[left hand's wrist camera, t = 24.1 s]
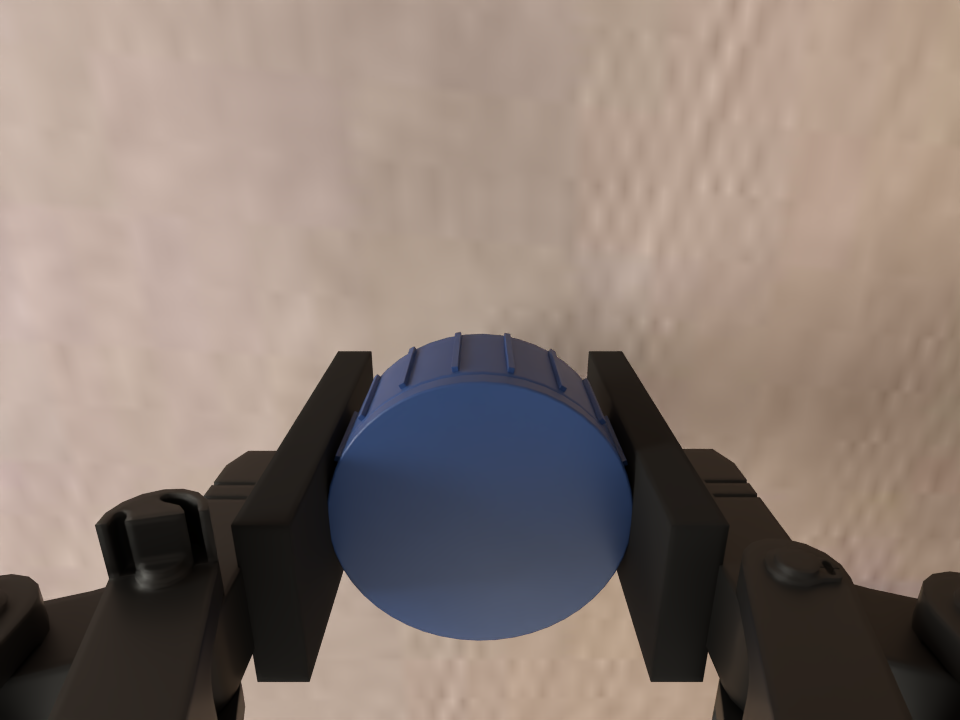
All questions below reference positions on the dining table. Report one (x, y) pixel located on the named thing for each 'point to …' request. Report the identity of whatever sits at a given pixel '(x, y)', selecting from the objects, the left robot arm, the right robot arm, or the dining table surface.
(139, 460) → the dining table surface
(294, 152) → the dining table surface
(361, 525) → the lid
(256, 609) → the left robot arm
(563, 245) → the dining table surface
